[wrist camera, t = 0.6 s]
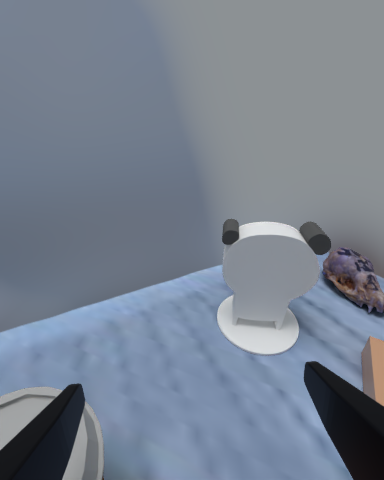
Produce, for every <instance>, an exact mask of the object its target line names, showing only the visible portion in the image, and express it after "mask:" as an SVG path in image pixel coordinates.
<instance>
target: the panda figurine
mask: <svg viewBox="0 0 384 480" xmlns="http://www.w3.org/2000/svg"><path fill="white" fill-rule="evenodd" d="M222 241H223V243H224V244H225V248H224V254H223V269H222V272H223V277H224V280H225V282H226V284H227V285H228V286H229V288H230V289H232V290H233V291H234V295H232V296H230V297H228V298H227V299H225V300H224V301H223V302H222V303H221V305H220V307H219V309H218V313H217V321H218V325H219V328H220V330H221V332H222V333H223V335H224V336H225V337H226V338H227V340H228V341H230V342H231V343H232V344H233V345H235V346H236V347H238V348H239V349H241V350H243V351H246V352H248V353H252V354H256V355H262V356H272V355H278V354H281V353H284V352H286V351H287V350H289V349H290V348H292V346H293V345H294V344H295V343H296V341H297V338H298V334H299V326H298V322H297V319H296V317H295V316H294V314H293V313H292V311H291V310H290V309H289V308H288V306H289V303H290V301H291V300H293V299H295V298H298V297H300V296H302V295H303V294H305V293H306V292H308V291H309V290H310V289H311V288H312V287H313V286H314V285H315V284H316V283H317V281H318V278H319V274H320V268H319V263H318V260H317V257H316V255H315V254H317V255H323V254H325V253H327V252H328V251H329V250H330V248H331V241H330V239H329V237H328V236H327V235H326V234H325V233H324V232H323V231H322V229H321V228H320V227H319V226H318V225H317V224H316V223H313V222H307V223H305V224H303V225H302V226H301V227H300V232H299V231H298V230H297V229H295V228H293V227H292V226H289V225H285V224H281V223H275V222H255V223H248V224H245V225H242V226H240V227H239V225H238V222H237V220H234V219H228V220H226V221H225V223H224V225H223V236H222Z"/></svg>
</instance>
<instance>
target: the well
mask: <svg viewBox="0 0 384 480" xmlns="http://www.w3.org/2000/svg"><path fill="white" fill-rule="evenodd" d="M361 354H362V374H363V393H365V394H366V395H368V396H369V397H371V398H372V399H374V400H375V401H377V402H378V403H380V404H381V405H383V406H384V341H382V340H379V339H376V338H373V337H371V336H370V337H369V339H368V341H367V343H366V345H365V347H364V349H363V351H362V353H361Z"/></svg>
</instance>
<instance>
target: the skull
mask: <svg viewBox="0 0 384 480" xmlns="http://www.w3.org/2000/svg"><path fill="white" fill-rule="evenodd" d="M323 275H324V276H325V278H326V279H329V280H331V281H332V282H333V283H334V284H335V285H336V287H337V288H338V289H339V290H340V291H341V292H342V293H344V294H345V296H346V297H348V298H349V299H350V300H351V301H354V302H355V303H356V304H358V305H360V306H361V307H362V305H363V304H367V305H368V308H369V310H368V312H369V313H370V312H371V310H372V309H373V307H376V308H377V312H378V311H379V312H381V313H382V311H384V293H383V292H382V290H381V289H380V286H379V283H378V281H377V278H376V275H375V274H374V269H373V265H372V263H371V262H370V260H369V259H368V258H367V257H365V256H362V255H360V254H358V253H357V252H355V251H353V250H351V249H350V248H346V247H339V248H338V249H336V250H334V251H332V252H331V253H330V254H329V256H328V258H327V259H326V260H325V261H324V262H323ZM338 280H339V281H341V283H342V284H340V283H338Z"/></svg>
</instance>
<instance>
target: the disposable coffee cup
mask: <svg viewBox="0 0 384 480" xmlns="http://www.w3.org/2000/svg"><path fill="white" fill-rule="evenodd" d="M61 392H62V390H60V389H55V388H51V387H33V388H24V389H21V390H18V391H15V392H11V393H8V394H5V395H3V396H1V397H0V450H1V449H2V448H3V447H4V446H5V445H6V444H7V443H8V442H9V441H10V440H11V439H13V438H14V437H15V436H16V435H17V434H18V433H19V432H20V431H21V430H22V429H23V428H24V427H25V426H26V425H27V424H28V423H29V422H30V421H32V420H33V419H34V418H35V417H36V416H37V415H38V414H39V413H40V412H41V411H42V410H43V409H44V408H45V407H46V406H47V405H48V404H49V403H51V402H52V401H53V400H54V399H55V398H56V397H57V396H58V395H59V394H60V393H61ZM103 471H104V444H103V436H102V430H101V426H100V423H99V421H98V419H97V417H96V415H95V413H94V411H93V409H92V408H91V407H90V406H89V405H88V403H87V402H86V401H85V406H84V410H83V414H82V417H81V421H80V425H79V428H78V432H77V436H76V439H75V443H74V446H73V450H72V453H71V457H70V459H69V462H68V465H67V468H66V471H65V473H64V476H63V479H62V480H104V478H103Z"/></svg>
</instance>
